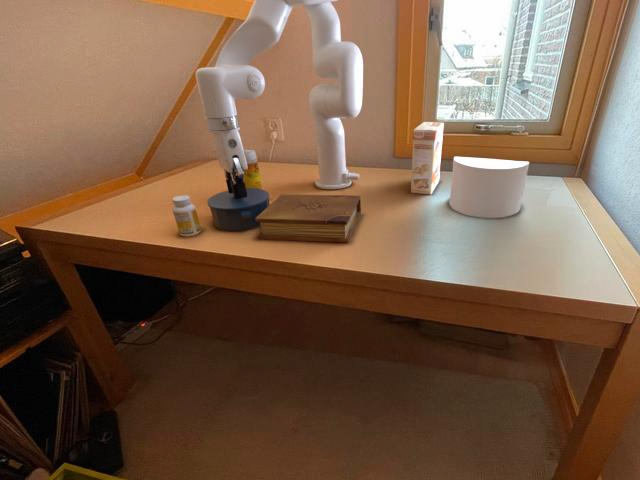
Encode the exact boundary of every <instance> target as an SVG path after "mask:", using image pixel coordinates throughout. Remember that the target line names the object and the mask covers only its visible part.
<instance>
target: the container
mask: <svg viewBox="0 0 640 480" xmlns="http://www.w3.org/2000/svg"><path fill="white" fill-rule="evenodd" d="M529 167H530V161H522V160H509V159H496V158H484V157H483V158H482V157H471V156H470V157H469V156H455V155H454V157H453V163H452V171H451V173H452V174H451V183H450V190H449V191H450V193H449V203H448V204H449V206H450V208H451V209H453V210H454V211H456V212H458V213H459V214H463V215H466V216H469V217H476V218H484V219H498V218H507V217H511V216H514V215H516V214H517V213H519V211H520V210H521V206H522V202H523V198H524V197H523V196H524V191H525V186H526V181H527V176H528V172H529Z"/></svg>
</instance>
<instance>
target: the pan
mask: <svg viewBox="0 0 640 480" xmlns="http://www.w3.org/2000/svg"><path fill="white" fill-rule="evenodd" d="M270 204H271V203H270V198H269V199H268V200H267V201H265V202H264V203H262V204H260V205H257V206H254V207H250V208H246V209H240V210H217V209H213V208H211V207H209V209H210V213H211V217H212V221H213V225H214V226H215V228H217V229H218V230H221V231H226V232H240V231H241V232H242V231H248V230H253V229H257V228H260V227H261V225H260V222H256V219H255V218H256V217H257V216H258V215H259V214H261V213H262V212H263V211H264V210H265V209H266V208H267V207H268V206H269V205H270Z"/></svg>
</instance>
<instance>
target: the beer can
mask: <svg viewBox="0 0 640 480" xmlns="http://www.w3.org/2000/svg"><path fill="white" fill-rule="evenodd" d="M243 149H244V154H245V158H246V162H247V167H248V169H247V171H245V170H243V169H242V170H243V173H244V181H245V186H246V188H256V189H262V190H264V189H263V184H262V178H261V173H260V167H259V161H258V156H257V152H256V150H255V149H254V148H243Z"/></svg>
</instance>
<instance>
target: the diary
mask: <svg viewBox="0 0 640 480" xmlns="http://www.w3.org/2000/svg"><path fill="white" fill-rule="evenodd" d="M361 200H362V199H361V195H346V194H344V195H341V194H339V195H338V194H293V193H292V194H291V193H289V194H287V193H285V194H284V193H280V194H279V195H278V196H277V197H276V199H274V200H272V201H271V203H270V205H269V206H268V207H267V208H266V209H265V210H264V211H263V212H262V213H261V214H259V215H258V216H257V217H256V218H255V219H256V222H260V225H261V226H260V229H261V232H260V234H259V235H258V239H259V240H275V241H300V242H302V241H303V242H306V241H307V242H324V243H325V242H327V243H349V241H350V240H351V237H352V235H353V233H354V230H355V229H356V226H357V225H358V222H359V219H360V218H361V215H362V201H361Z"/></svg>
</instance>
